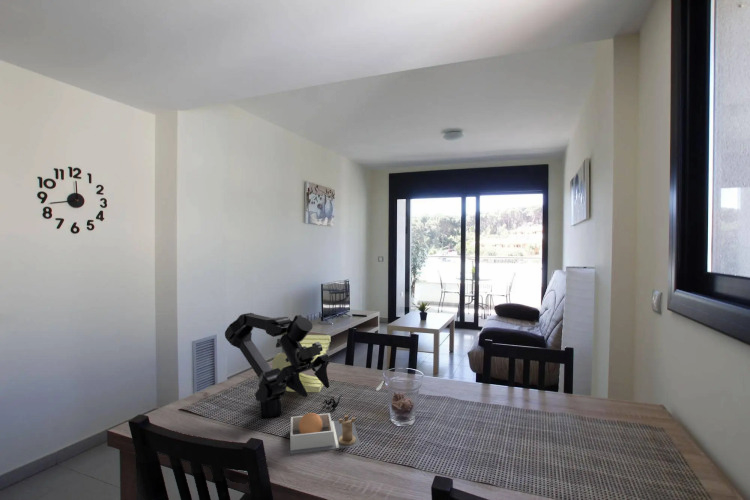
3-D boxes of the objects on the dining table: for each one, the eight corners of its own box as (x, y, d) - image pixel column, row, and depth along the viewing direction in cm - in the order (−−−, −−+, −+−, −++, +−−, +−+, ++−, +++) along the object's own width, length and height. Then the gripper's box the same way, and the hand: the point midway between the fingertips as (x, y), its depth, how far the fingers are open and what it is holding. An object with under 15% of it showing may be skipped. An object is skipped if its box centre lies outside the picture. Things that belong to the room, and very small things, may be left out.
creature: (314, 413, 132) (330, 413, 127) (312, 397, 133) (327, 397, 128) (330, 405, 138) (345, 406, 133) (328, 390, 139) (343, 390, 134)
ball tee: (339, 446, 106) (339, 423, 106) (338, 437, 111) (337, 415, 111) (357, 444, 107) (356, 421, 107) (354, 435, 112) (354, 414, 112)
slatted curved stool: (296, 373, 171) (296, 334, 171) (330, 374, 169) (330, 335, 169) (272, 399, 141) (272, 352, 141) (313, 401, 140) (313, 353, 140)
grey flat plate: (289, 456, 102) (289, 453, 102) (290, 427, 119) (290, 425, 119) (361, 447, 107) (361, 445, 107) (352, 420, 123) (352, 418, 123)
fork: (370, 393, 147) (370, 389, 147) (387, 374, 170) (387, 370, 170) (378, 394, 146) (378, 390, 146) (394, 374, 169) (394, 371, 169)
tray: (290, 450, 104) (290, 436, 104) (291, 429, 116) (290, 416, 116) (333, 445, 107) (333, 431, 107) (329, 425, 119) (329, 413, 119)
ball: (297, 443, 108) (296, 419, 108) (301, 432, 115) (300, 410, 115) (321, 441, 108) (320, 417, 108) (324, 430, 115) (322, 408, 115)
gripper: (282, 341, 109) (308, 386, 103) (326, 329, 124) (351, 369, 117) (265, 362, 114) (289, 407, 107) (310, 349, 129) (333, 388, 122)
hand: (317, 392), depth 113 cm, fingers open, 9 cm apart
